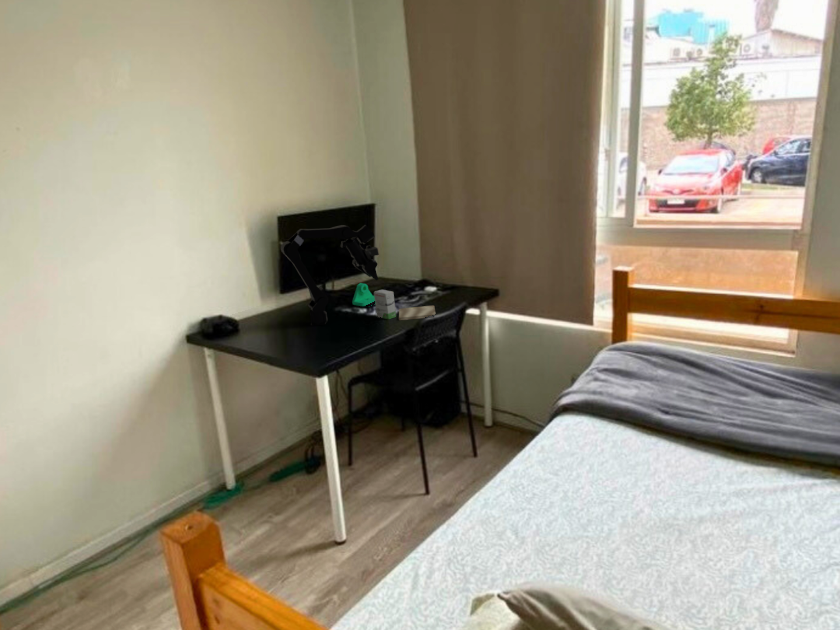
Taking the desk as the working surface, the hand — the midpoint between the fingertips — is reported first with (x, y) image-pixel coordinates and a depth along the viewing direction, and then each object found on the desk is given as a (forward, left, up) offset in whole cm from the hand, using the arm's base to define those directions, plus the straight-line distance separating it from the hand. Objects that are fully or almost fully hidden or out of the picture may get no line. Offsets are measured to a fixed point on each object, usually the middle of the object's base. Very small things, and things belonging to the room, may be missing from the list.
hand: (374, 278), depth 257 cm
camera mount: (-6, +14, -16) cm, 22 cm away
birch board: (+18, -11, -16) cm, 26 cm away
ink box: (+4, -11, -16) cm, 20 cm away
